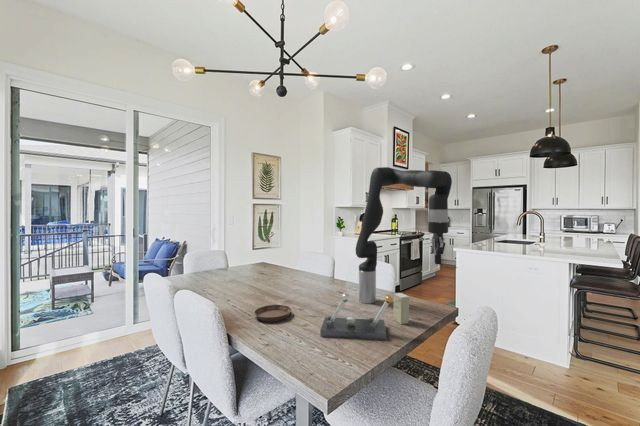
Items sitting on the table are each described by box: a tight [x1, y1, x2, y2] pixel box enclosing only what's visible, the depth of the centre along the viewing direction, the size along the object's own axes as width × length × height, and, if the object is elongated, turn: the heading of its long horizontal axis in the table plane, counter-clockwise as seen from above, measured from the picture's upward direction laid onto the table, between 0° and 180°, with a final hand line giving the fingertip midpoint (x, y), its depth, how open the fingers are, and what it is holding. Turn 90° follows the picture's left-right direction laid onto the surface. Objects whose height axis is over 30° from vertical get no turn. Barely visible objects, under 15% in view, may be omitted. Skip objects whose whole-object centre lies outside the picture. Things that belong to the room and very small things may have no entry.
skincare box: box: [392, 292, 410, 325], centre depth 134 cm, size 6×4×12 cm
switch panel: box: [319, 315, 387, 341], centre depth 124 cm, size 14×26×4 cm, turn 81°
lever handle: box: [372, 294, 394, 326], centre depth 122 cm, size 4×3×14 cm
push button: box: [346, 316, 356, 325], centre depth 124 cm, size 4×4×2 cm
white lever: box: [330, 292, 350, 323], centre depth 125 cm, size 4×3×14 cm
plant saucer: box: [253, 304, 292, 323], centre depth 142 cm, size 18×18×3 cm
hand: (437, 264), depth 118 cm, fingers closed
